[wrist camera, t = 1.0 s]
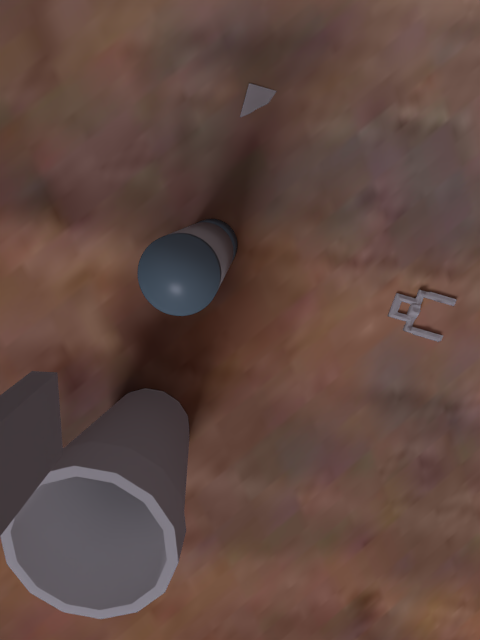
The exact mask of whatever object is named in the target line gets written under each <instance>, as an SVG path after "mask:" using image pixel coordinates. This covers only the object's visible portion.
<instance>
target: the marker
mask: <svg viewBox="0 0 480 640" xmlns="http://www.w3.org/2000/svg"><path fill="white" fill-rule="evenodd" d="M236 252H237V238H236V235H235V233H234V231H233V230H232V228H231V227H230V226H229V225H228V224H226V223H225V222H223V221H221V220H217V219H206V220H203V221H200V222H198V223H195V224H193V225H190V226H188V227H185V228H183V229H181V230H178V231H176V232H173V233H171V234H168V235H166V236H163V237H161V238H159V239H157V240H155V241H154V242H153V243H151V244H150V245H149V246H148V247H147V248H146V250H145V251H144V252H143V254H142V256H141V259H140V261H139V265H138V281H139V285H140V288H141V290H142V293H143V294H144V296H145V298H146V299H147V300H148V301H149V302H150V303H151V304H152V305H153V306H154V307H155V308H157V309H158V310H160V311H162V312H164V313H166V314H170V315H175V316H186V315H191V314H194V313H197V312H199V311H201V310H202V309H204V308H205V307H206V306H207V305H208V304H209V303H210V302H211V301H212V300H213V298H214V296H215V295H216V293H217V291H218V289H219V287H220V285H221V283H222V281H223V279H224V277H225V275H226V273H227V271H228V269H229V267H230V265H231V263H232V261H233V259H234V257H235V255H236Z"/></svg>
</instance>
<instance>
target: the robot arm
mask: <svg viewBox="0 0 480 640" xmlns="http://www.w3.org/2000/svg"><path fill="white" fill-rule="evenodd" d="M62 455H63V447H62V433H61V419H60V405H59V391H58V377H57V373H55V372H37V371H32V372H30V373H29V374H28V375H26V376H25V377H24V378H23V379H21V380H20V381H19V382H17V383H16V384H15V385H13V386H12V387H11V388H9V389H8V390H7V391H6V392H4V393H3V394H2V395H0V536H1V535H2V533H3V532H4V531H5V529H6V528H7V527H8V525H9V524H10V523H11V522H12V520H13V519H14V518H15V516H16V515H17V514H18V512H19V511H20V510H21V509H22V507H23V506H24V505H25V503H26V502H27V501H28V499H29V498H30V497H31V495H32V494H33V493H34V492H35V490H36V489H37V488H38V486H39V485H40V484H41V482H42V481H43V480H44V479H45V477H46V476H47V475H48V473H49V472H50V471H51V469H52V468H53V467H54V466H55V464H56V463H57V462H58V460H59V459H60V458H61V456H62Z"/></svg>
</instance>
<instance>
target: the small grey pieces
mask: <svg viewBox="0 0 480 640" xmlns="http://www.w3.org/2000/svg"><path fill="white" fill-rule="evenodd" d="M276 92H277V91H275V90H271V89H268V88H264V87H261V86H257V85H254V84H250V83H249V85H248V89H247V93H246V96H245V100H244V104H243V107H242V111H241V115H240V117H243V116H245V115H247V114H250V113H252V112H253V111H255V110H256V109H258V108H260V107H262V106H264V105H266V104H268V103H269V102H270V100H271V99H272V97H273V96H274V94H275V93H276ZM423 298H428V299H431V300H434V301H437V302H441V303H445V304H448V305H452V306H454V305H455V303H456V300H457V299H454V298H450V297H447V296H443V295H440V294H436V293H433V292H430V291H429V292H426V291H423V290H418V293H417V296H416V298H412V297H409V296H405V295H402V294H398V293H396V295H395V298H394V300H393V303H392V306H391V308H390V311H389V313H388V316H389V317H392V318H396V319H399V320H402V321H406V324H405V325H404V328H403V331H406V332H409V333H412V334H413V335H417V336H420V337H424V338H427V339H431V340H434V341H437V342H439V341H441V340H442V337H443V335H439V334H436V333H433V332H429V331H426V330H423V329H419V328H415V327H412V325H413V323H414V320H415V319H416V318H417V316H418V315H419V313H420V308H421V306H420V305H421V303H422V300H423ZM401 302H405V303H409V304H410V307H409V309H408V312H407V314H402V313H399V312H398V310H399V307H400V304H401Z"/></svg>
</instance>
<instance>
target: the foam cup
mask: <svg viewBox="0 0 480 640" xmlns="http://www.w3.org/2000/svg"><path fill="white" fill-rule="evenodd" d="M188 450H189V422H188V415H187V414H186V412H185V411H184V409H183V407H182V406H181V404H180V403H179V401H177V400H176V399H174V398H173V397H171V396H170V395H168V394H167V393H165V392H164V391H159V390H153V389H147V388H144V389H141V390H137V391H133V392H129V393H128V394H126V395H125V396H124V397H123V398H121V399H120V400H119V401H118V402H117V403H116V404H114V405H113V406H112V407H111V408H110V409H109V410H107V411H106V412H105V413H104V414H103V415H102V416H100V417H99V418H98V419H97V420H96V421H95V422H94V423H92V424H91V425H90V426H89V427H88V428H87V429H85V430H84V431H83V432H82V433H81V434H80V435H78V436H77V437H76V438H75V439H74V440H73V441H71V442H70V443H69V444H68V445H67V446H66V447H64V448H63V455H62V456H61V458H60V459H59V460H58V462H57V463H56V464H55V466H54V467H53V468H52V469H51V471H50V472H49V473H48V475H47V476H46V477H45V479H44V480H43V481H42V482H41V484H40V485H39V486H38V488H37V489H36V490H35V492H34V493H33V494H32V495H31V497H30V498H29V499H28V501H27V502H26V503H25V505H24V506H23V507H22V509H21V510H20V511H19V512H18V514H17V515H16V516H15V518H14V519H13V520H12V522H11V523H10V524H9V525H8V527H7V528H6V529H5V531H4V532H3V533H2V535H1V536H0V537H1V541H2V545H3V549H4V554H5V558H6V562H7V565H8V566H9V567H10V568H11V570H12V571H13V572H14V573H15V575H16V576H17V577H18V578H19V580H20V581H21V582H22V583H23V585H24V586H25V587H26V588H27V590H28V591H29V592H30V593H31V594H33V595H35V596H37V597H38V598H40V599H42V600H43V601H45V602H47V603H49V604H50V605H52V606H54V607H55V608H57V609H59V610H61V611H62V612H66V613H71V614H77V615H82V616H88V617H93V618H99V619H104V618H109V617H114V616H120V615H125V614H130V613H135V612H138V611H140V610H141V609H142V608H144V607H145V606H147V605H148V604H149V603H151V602H152V601H153V600H155V599H156V598H158V597H159V596H160V595H162V594H163V593H165V591H166V589H167V586H168V584H169V582H170V580H171V578H172V575H173V573H174V571H175V569H176V567H177V565H178V562H179V558H180V554H181V550H182V546H183V542H184V537H185V533H186V525H185V516H184V505H185V491H186V477H187V464H188Z"/></svg>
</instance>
